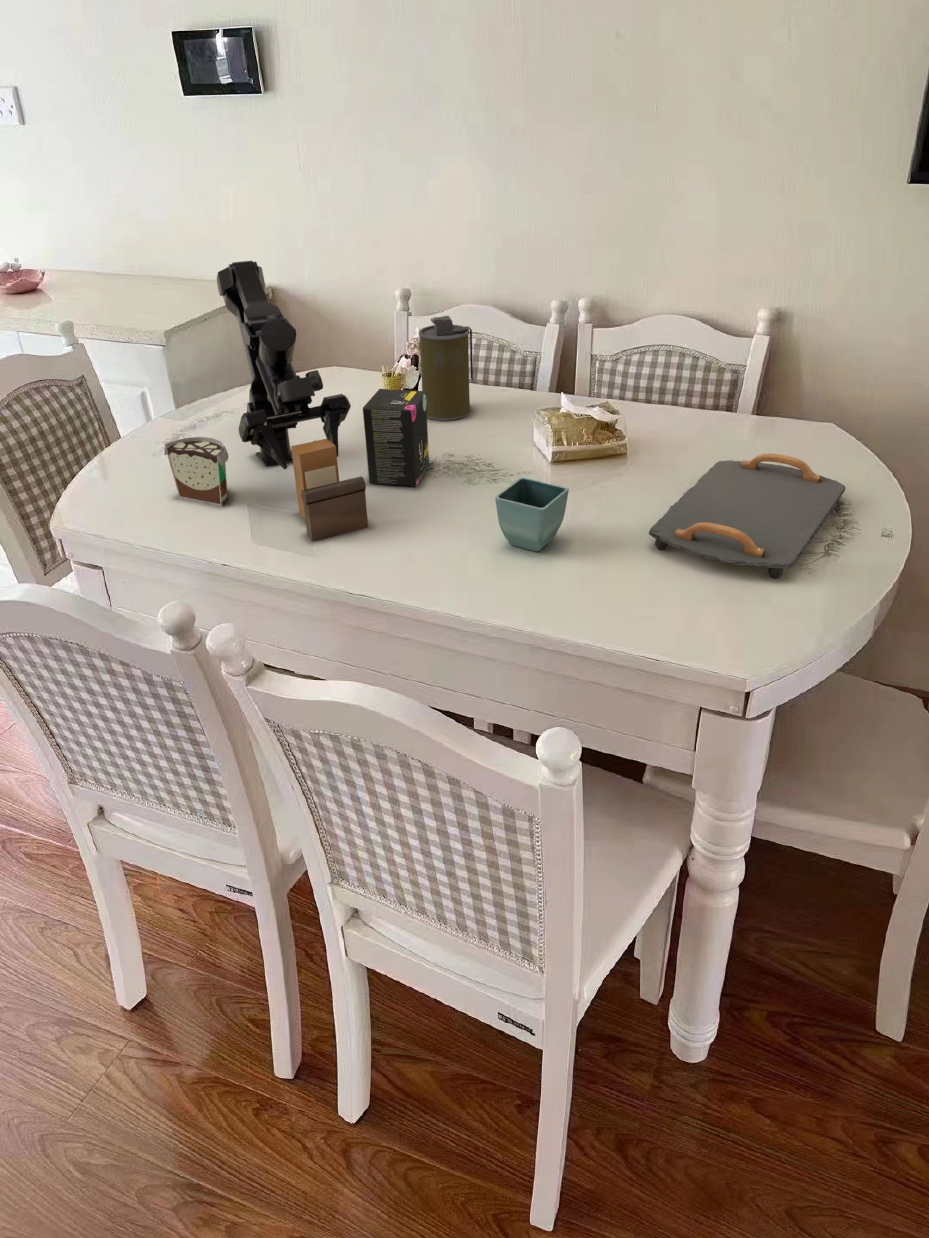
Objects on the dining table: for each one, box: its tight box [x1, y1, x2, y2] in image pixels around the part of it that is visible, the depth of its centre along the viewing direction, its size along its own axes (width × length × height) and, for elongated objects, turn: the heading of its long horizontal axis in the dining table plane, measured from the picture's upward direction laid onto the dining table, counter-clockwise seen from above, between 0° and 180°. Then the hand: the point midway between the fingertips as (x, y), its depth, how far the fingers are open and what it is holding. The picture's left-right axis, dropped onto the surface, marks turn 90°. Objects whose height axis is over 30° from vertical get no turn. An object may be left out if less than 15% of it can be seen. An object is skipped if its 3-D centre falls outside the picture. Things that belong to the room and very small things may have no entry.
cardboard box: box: [290, 438, 340, 520], centre depth 163 cm, size 4×6×12 cm, turn 119°
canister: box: [418, 315, 474, 422], centre depth 201 cm, size 11×10×20 cm
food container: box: [163, 436, 230, 507], centre depth 171 cm, size 12×6×10 cm, turn 65°
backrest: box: [301, 476, 369, 542], centre depth 158 cm, size 2×10×9 cm, turn 119°
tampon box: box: [362, 388, 430, 487], centre depth 176 cm, size 11×9×15 cm
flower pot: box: [494, 477, 570, 552], centre depth 153 cm, size 9×9×9 cm
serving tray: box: [648, 453, 846, 580], centre depth 158 cm, size 39×23×6 cm, turn 148°
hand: (311, 462), depth 163 cm, fingers open, 9 cm apart
